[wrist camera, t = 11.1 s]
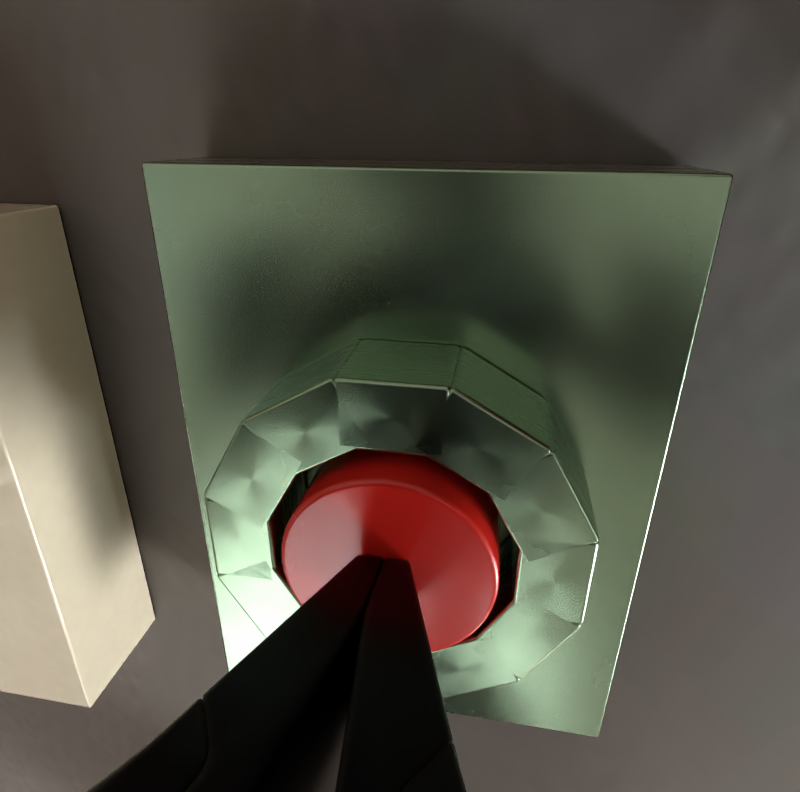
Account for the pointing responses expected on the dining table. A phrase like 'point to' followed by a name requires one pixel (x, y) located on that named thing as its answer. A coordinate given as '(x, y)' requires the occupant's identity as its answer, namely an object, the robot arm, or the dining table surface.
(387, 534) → the button
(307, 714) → the robot arm
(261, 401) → the green button base
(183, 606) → the dining table surface
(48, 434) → the cream dial base plate
